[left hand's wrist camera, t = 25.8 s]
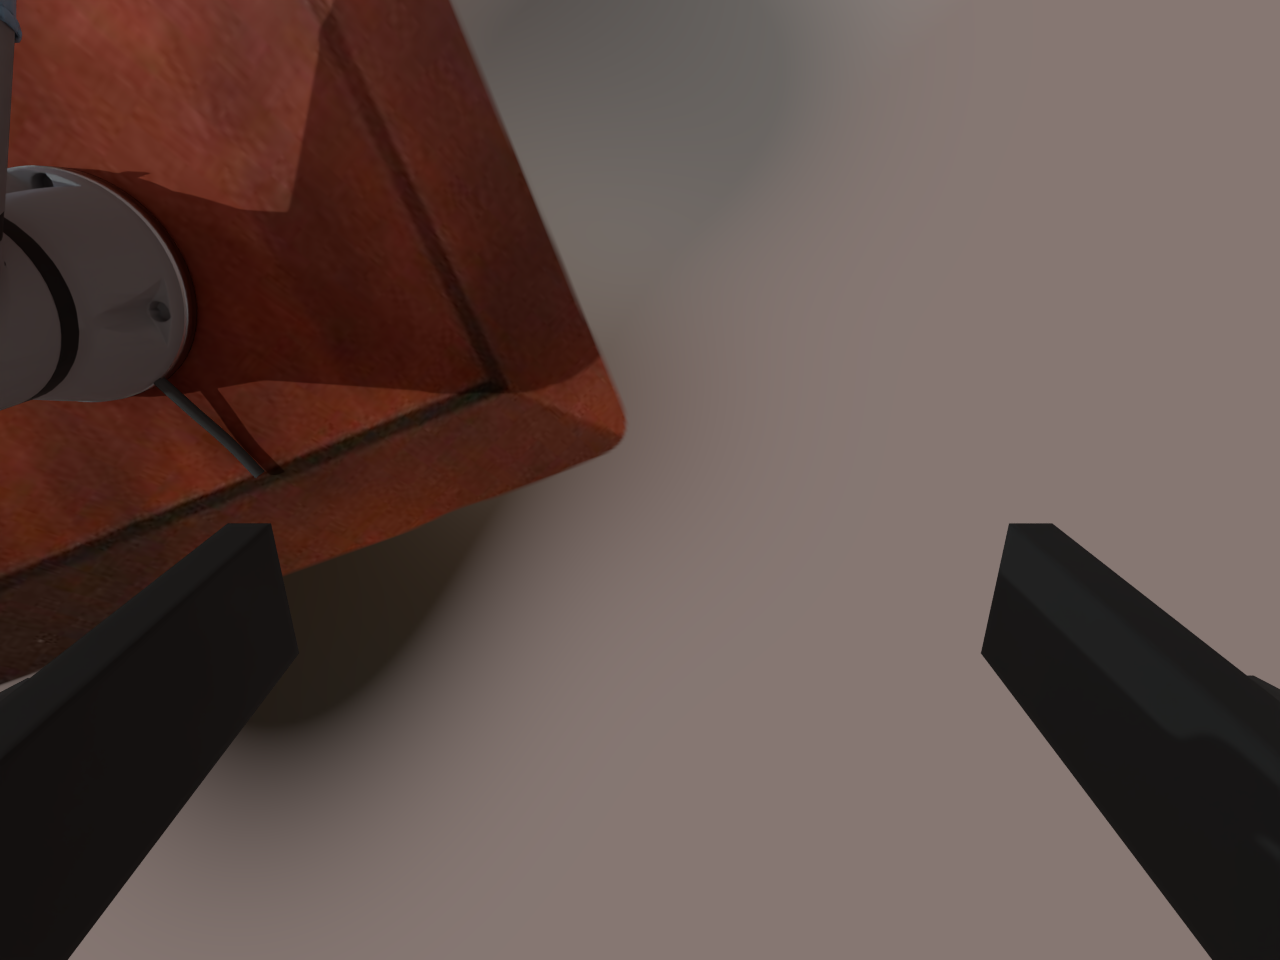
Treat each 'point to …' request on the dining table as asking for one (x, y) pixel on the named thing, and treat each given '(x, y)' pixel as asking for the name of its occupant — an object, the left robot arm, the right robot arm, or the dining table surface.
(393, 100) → the dining table surface
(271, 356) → the dining table surface
